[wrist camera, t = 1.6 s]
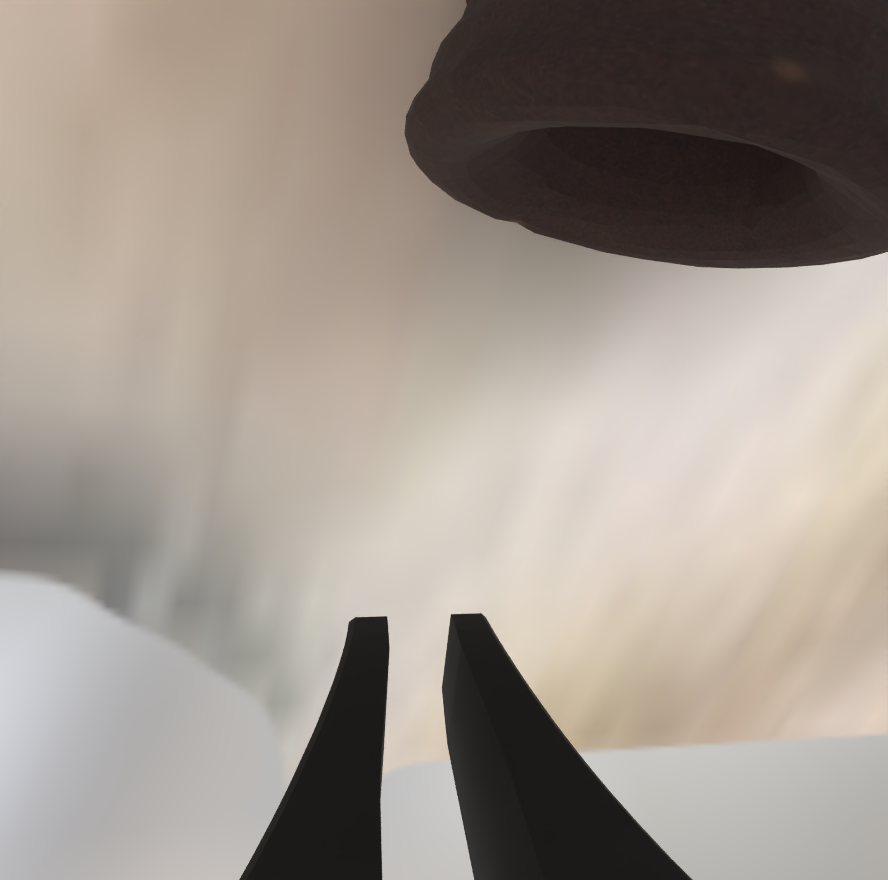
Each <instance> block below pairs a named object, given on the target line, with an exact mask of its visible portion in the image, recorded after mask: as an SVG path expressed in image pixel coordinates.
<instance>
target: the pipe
mask: <svg viewBox="0 0 888 880" xmlns="http://www.w3.org/2000/svg"><path fill="white" fill-rule="evenodd" d="M466 2H467V7H466V9H465V12H464V15H463V17H462V18H461V20H460V21H459V22H458V23H457V24H456V26H455V27H454V28H453V29H452V30H451V32H450V33H449V34H448V35H447V37H446V38H445V39H444V40H443V41H442V43H441V45H440V47H439V49H438V52H437V54H436V56H435V58H434V61H433V63H432V68H431V72H430V76H429V80H428V81H427V82H426V84H425V85H424V86H423V87H422V89H421V90H420V91H419V93H418V94H417V95H416V97H415V98H414V100H413V102H412V104H411V106H410V109H409V111H408V113H407V115H406V125H405V137H406V140H407V144H408V147H409V151H410V154H411V156H412V158H413V159H414V161H415V162H416V164H417V166H418V167H419V168H420V169H421V170H422V171H423V173H424V174H425V175H426V176H427V177H428V178H429V179H430V180H431V181H432V182H433V183H434V184H436V185H437V186H438V187H439V188H441V189H442V190H443V191H445V192H446V193H447V194H448V195H450V196H451V197H452V198H454V199H455V200H457V201H459V202H461V203H463V204H465V205H467V206H469V207H471V208H473V209H476V210H478V211H480V212H482V213H484V214H486V215H488V216H490V217H493V218H495V219H499V220H505V221H511V222H516V223H518V224H520V225H522V226H524V227H525V228H527V229H529V230H531V231H532V232H534V233H537V234H541V235H544V236H548V237H551V238H555V239H559V240H562V241H566V242H569V243H573V244H577V245H580V246H584V247H587V248H591V249H595V250H598V251H602V252H606V253H612V254H617V255H623V256H628V257H634V258H640V259H646V260H653V261H660V262H667V263H675V264H682V265H689V266H696V267H714V268H782V267H798V266H811V265H824V264H830V263H837V262H844V261H850V260H857V259H863V258H867V257H870V256H874V255H878V254H881V253H885V252H888V0H466Z"/></svg>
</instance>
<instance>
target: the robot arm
mask: <svg viewBox="0 0 888 880" xmlns="http://www.w3.org/2000/svg"><path fill="white" fill-rule="evenodd" d="M388 665H389V634H388V621H387V616H385V617H355V618H354V619H352V620H351V621H350V622H349V625H348V632H347V637H346V641H345V646H344V649H343V653H342V657H341V660H340V663H339V666H338V669H337V672H336V675H335V678H334V681H333V684H332V687H331V689H330V692H329V694H328V697H327V699H326V702H325V705H324V707H323V710H322V712H321V715H320V718H319V720H318V723H317V725H316V727H315V730H314V732H313V734H312V737H311V739H310V741H309V743H308V745H307V748H306V750H305V752H304V754H303V756H302V759H301V761H300V763H299V765H298V767H297V770H296V772H295V774H294V776H293V778H292V780H291V783H290V785H289V787H288V789H287V791H286V793H285V795H284V797H283V799H282V801H281V803H280V805H279V807H278V809H277V811H276V813H275V815H274V817H273V819H272V821H271V823H270V825H269V826H268V828H267V830H266V832H265V834H264V836H263V838H262V839H261V841H260V843H259V845H258V847H257V849H256V851H255V853H254V854H253V856H252V858H251V860H250V862H249V864H248V865H247V867H246V869H245V871H244V873H243V874H242V876H241V878H240V880H382V857H381V856H382V855H381V854H382V853H381V811H380V797H381V782H382V767H383V752H384V736H385V718H386V700H387V683H388ZM442 694H443V704H444V715H445V725H446V734H447V744H448V749H449V754H450V760H451V765H452V770H453V775H454V780H455V785H456V790H457V795H458V800H459V805H460V810H461V815H462V820H463V825H464V830H465V835H466V840H467V845H468V850H469V855H470V860H471V865H472V870H473V875H474V880H692V879H691V878H690V877H689V876H688V875H687V874H686V873H685V872H684V871H683V870H682V869H681V868H680V867H679V866H678V865H677V864H676V863H675V862H674V861H673V860H672V859H671V858H670V857H669V856H668V855H667V854H666V853H665V851H664V850H663V849H661V847H660V846H659V845H658V844H657V843H656V842H655V841H654V840H653V839H652V838H651V837H650V835H649V834H648V833H647V832H646V831H645V830H644V829H643V828H642V827H641V826H640V825H639V824H638V823H637V822H636V820H635V819H634V818H633V817H632V816H631V815H630V814H629V813H628V811H627V810H626V809H625V808H624V807H623V806H622V805H621V803H620V802H619V801H618V800H617V799H616V798H615V797H614V796H613V795H612V793H611V792H610V791H609V790H608V789H607V787H606V786H605V785H604V784H603V783H602V782H601V780H600V779H599V778H598V777H597V776H596V774H595V773H594V772H593V771H592V769H591V768H590V767H589V766H588V765H587V763H586V762H585V761H584V760H583V758H582V757H581V756H580V754H579V753H578V752H577V751H576V749H575V748H574V747H573V746H572V744H571V743H570V742H569V740H568V739H567V738H566V737H565V735H564V734H563V733H562V731H561V730H560V729H559V727H558V726H557V725H556V723H555V722H554V721H553V719H552V718H551V717H550V715H549V714H548V712H547V711H546V710H545V708H544V707H543V705H542V704H541V703H540V701H539V700H538V698H537V697H536V696H535V694H534V693H533V691H532V690H531V689H530V687H529V686H528V684H527V683H526V681H525V680H524V678H523V677H522V675H521V674H520V672H519V671H518V669H517V668H516V666H515V665H514V663H513V662H512V660H511V658H510V657H509V655H508V654H507V652H506V651H505V649H504V647H503V646H502V644H501V643H500V641H499V639H498V638H497V636H496V634H495V633H494V631H493V629H492V628H491V626H490V624H489V622H488V621H487V619H486V617H485V616H483V615H482V614H481V613H480V614H451V618H450V627H449V635H448V643H447V651H446V659H445V667H444V676H443V684H442Z"/></svg>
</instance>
